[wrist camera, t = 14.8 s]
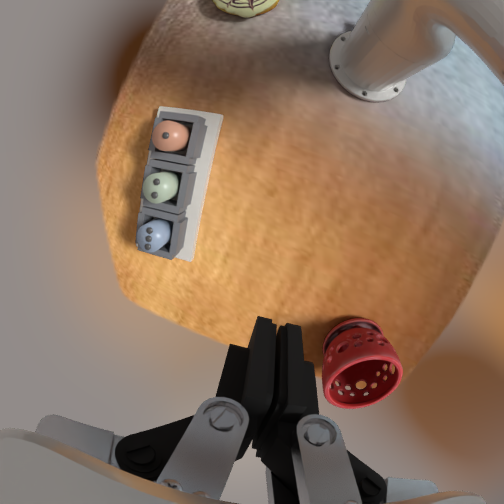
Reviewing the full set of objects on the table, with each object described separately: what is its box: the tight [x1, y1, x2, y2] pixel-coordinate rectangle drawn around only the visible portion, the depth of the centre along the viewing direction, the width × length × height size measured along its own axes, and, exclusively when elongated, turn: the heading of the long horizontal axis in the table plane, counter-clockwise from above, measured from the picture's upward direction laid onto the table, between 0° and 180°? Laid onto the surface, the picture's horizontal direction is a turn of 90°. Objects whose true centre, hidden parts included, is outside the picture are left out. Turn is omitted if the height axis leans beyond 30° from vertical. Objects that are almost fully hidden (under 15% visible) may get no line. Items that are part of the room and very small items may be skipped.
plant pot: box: [322, 318, 403, 409], centre depth 41 cm, size 13×13×12 cm
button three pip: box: [137, 218, 174, 252], centre depth 38 cm, size 4×4×5 cm
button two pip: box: [143, 171, 182, 204], centre depth 36 cm, size 4×4×5 cm
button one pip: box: [152, 120, 192, 151], centre depth 33 cm, size 4×4×5 cm
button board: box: [136, 106, 224, 262], centre depth 38 cm, size 23×10×5 cm, turn 166°
